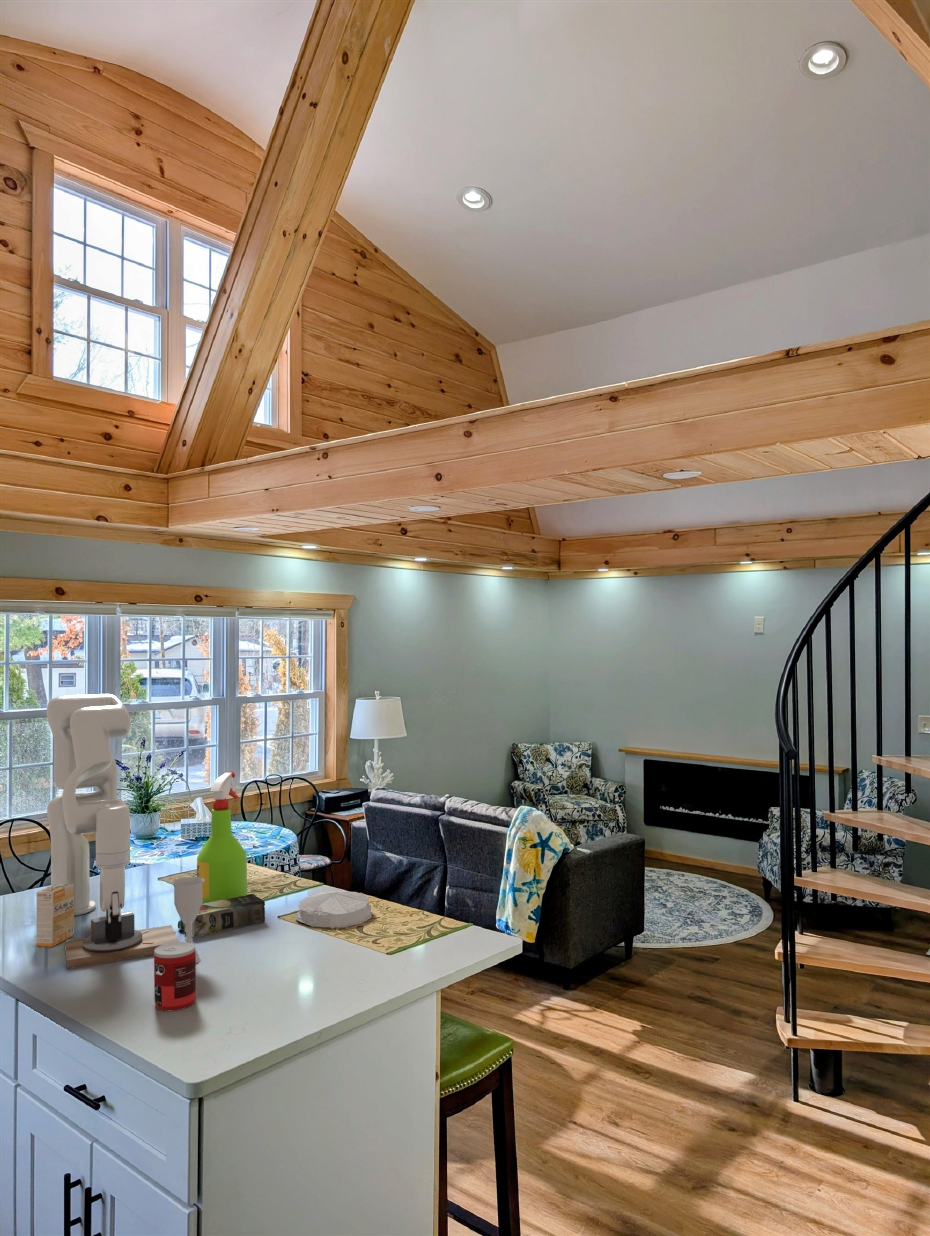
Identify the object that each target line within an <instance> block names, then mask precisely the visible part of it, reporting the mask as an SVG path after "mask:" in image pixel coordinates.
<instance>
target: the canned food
mask: <svg viewBox="0 0 930 1236" xmlns="http://www.w3.org/2000/svg"><path fill="white" fill-rule="evenodd" d="M195 950H196V945H195V944H194V943H193V942H191V943H189V942H186V941H179V942H173V943H167V944H164V945H161V946H159V947H157V948H156V949H155V950H154V955H153V958H154V959H153V970H154V971H153V977H154V978H153V979H154V981H153V982H154V987H153V988H154V989H153V990H154V991H153V993H154V1006H155V1007H156V1008H157V1009H158V1010H161V1011H165V1010H167V1011H168V1010H173V1011H178V1010H179V1009H180V1010H183V1008H184V1009H187V1008H188V1006H189V1007H191V1006H192V1005H194V1003H195V1001H196V996H197V991H196V990H197V988H196V987H197V985H196V984H197V983H196V981H197V978H196V977H197V975H196V973H197V972H196V971H197V969H196V968H197V965H196V964H197V963H196V953H195ZM180 1010H179V1011H180Z"/></svg>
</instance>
